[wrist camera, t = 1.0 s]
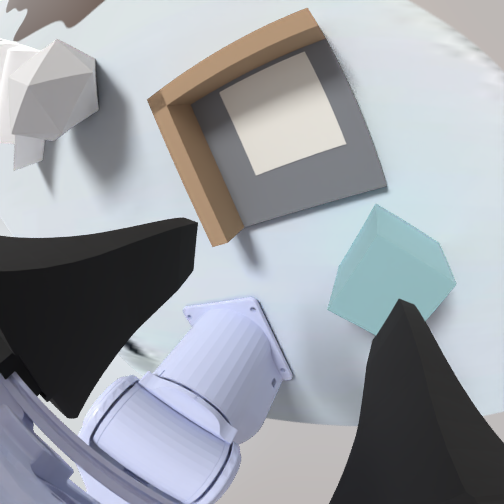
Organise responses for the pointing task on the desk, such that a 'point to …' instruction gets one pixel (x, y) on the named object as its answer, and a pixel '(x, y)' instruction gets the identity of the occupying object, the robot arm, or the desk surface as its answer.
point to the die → (52, 92)
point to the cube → (389, 272)
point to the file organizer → (3, 65)
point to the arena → (266, 129)
